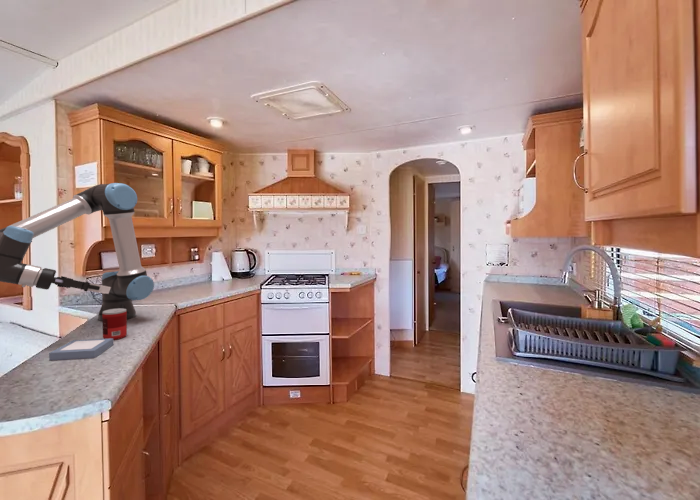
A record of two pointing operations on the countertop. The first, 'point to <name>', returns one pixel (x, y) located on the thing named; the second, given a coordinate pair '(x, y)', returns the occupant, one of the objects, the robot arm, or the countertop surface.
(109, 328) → the canned food
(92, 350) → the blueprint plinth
